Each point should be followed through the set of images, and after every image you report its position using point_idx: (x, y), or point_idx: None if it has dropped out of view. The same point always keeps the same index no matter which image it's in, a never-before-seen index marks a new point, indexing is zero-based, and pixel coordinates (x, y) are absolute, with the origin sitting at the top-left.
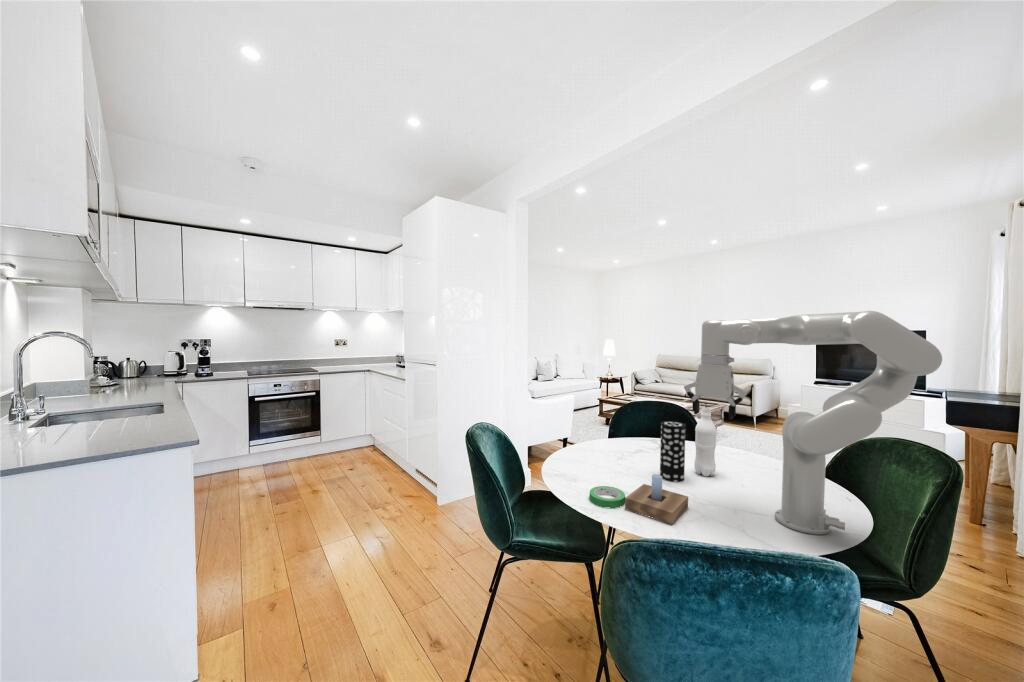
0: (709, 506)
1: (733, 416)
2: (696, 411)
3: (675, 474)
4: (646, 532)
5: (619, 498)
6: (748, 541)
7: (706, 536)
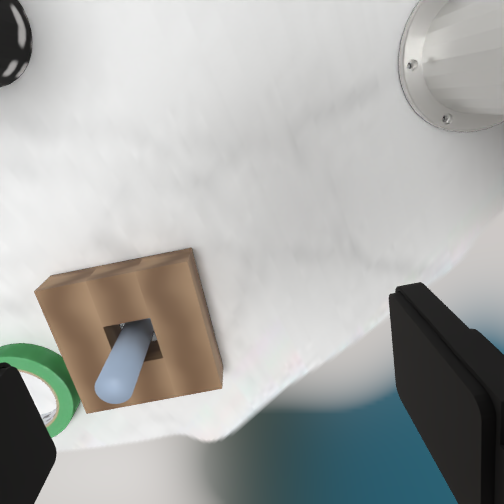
0: (226, 181)
1: (423, 284)
2: (44, 481)
3: (5, 69)
4: (206, 432)
5: (66, 402)
6: (380, 293)
7: (302, 348)
